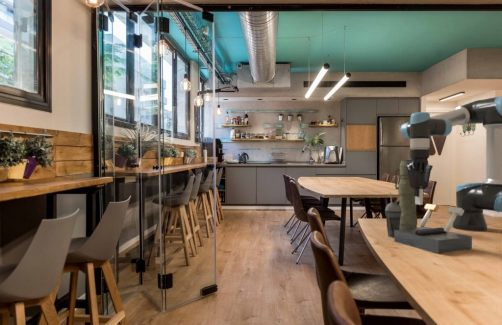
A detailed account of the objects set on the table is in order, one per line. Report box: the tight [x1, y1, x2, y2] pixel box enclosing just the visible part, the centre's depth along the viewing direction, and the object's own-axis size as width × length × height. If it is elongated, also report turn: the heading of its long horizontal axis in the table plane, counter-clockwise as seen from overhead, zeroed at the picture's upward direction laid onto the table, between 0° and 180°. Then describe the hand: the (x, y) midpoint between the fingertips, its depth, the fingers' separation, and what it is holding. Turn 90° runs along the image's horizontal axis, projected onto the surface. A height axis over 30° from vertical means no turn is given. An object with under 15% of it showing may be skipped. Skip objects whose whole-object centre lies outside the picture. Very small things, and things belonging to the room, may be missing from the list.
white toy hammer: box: [444, 206, 464, 233], centre depth 141 cm, size 2×5×11 cm
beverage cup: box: [384, 192, 402, 238], centre depth 162 cm, size 7×7×20 cm
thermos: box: [394, 159, 418, 229], centre depth 180 cm, size 9×12×35 cm
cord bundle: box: [414, 227, 445, 235], centre depth 145 cm, size 15×3×2 cm, turn 112°
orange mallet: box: [418, 203, 439, 228], centre depth 153 cm, size 2×5×11 cm
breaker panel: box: [393, 226, 473, 255], centre depth 145 cm, size 18×22×5 cm
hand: (418, 204), depth 151 cm, fingers closed
